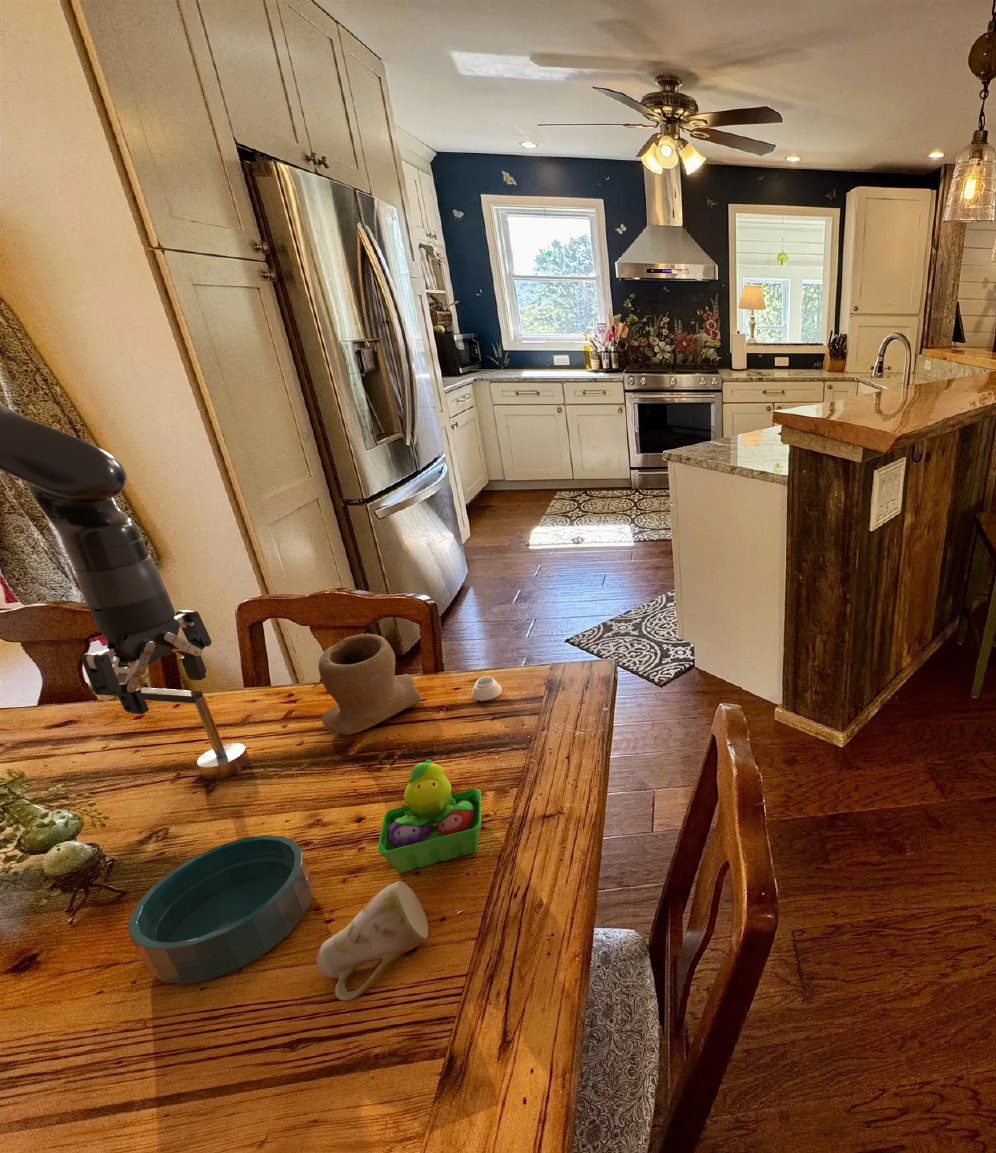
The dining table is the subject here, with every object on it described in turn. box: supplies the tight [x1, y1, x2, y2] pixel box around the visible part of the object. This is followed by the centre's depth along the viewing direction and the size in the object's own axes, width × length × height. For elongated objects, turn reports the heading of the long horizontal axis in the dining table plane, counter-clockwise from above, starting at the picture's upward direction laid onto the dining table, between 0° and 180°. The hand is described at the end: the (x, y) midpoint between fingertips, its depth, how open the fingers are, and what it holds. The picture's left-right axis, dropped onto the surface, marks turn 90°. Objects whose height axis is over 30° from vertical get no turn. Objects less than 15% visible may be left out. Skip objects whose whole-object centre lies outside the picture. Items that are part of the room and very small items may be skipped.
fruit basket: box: [377, 759, 482, 874], centre depth 78 cm, size 11×9×11 cm
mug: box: [316, 880, 429, 1002], centre depth 65 cm, size 8×10×10 cm
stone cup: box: [317, 633, 423, 736], centre depth 103 cm, size 15×12×15 cm
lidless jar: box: [471, 676, 503, 702], centre depth 111 cm, size 5×3×5 cm
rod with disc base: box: [139, 687, 251, 781], centre depth 90 cm, size 12×6×13 cm, turn 86°
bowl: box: [127, 834, 315, 985], centre depth 68 cm, size 14×14×6 cm
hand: (170, 695), depth 88 cm, fingers open, 8 cm apart
